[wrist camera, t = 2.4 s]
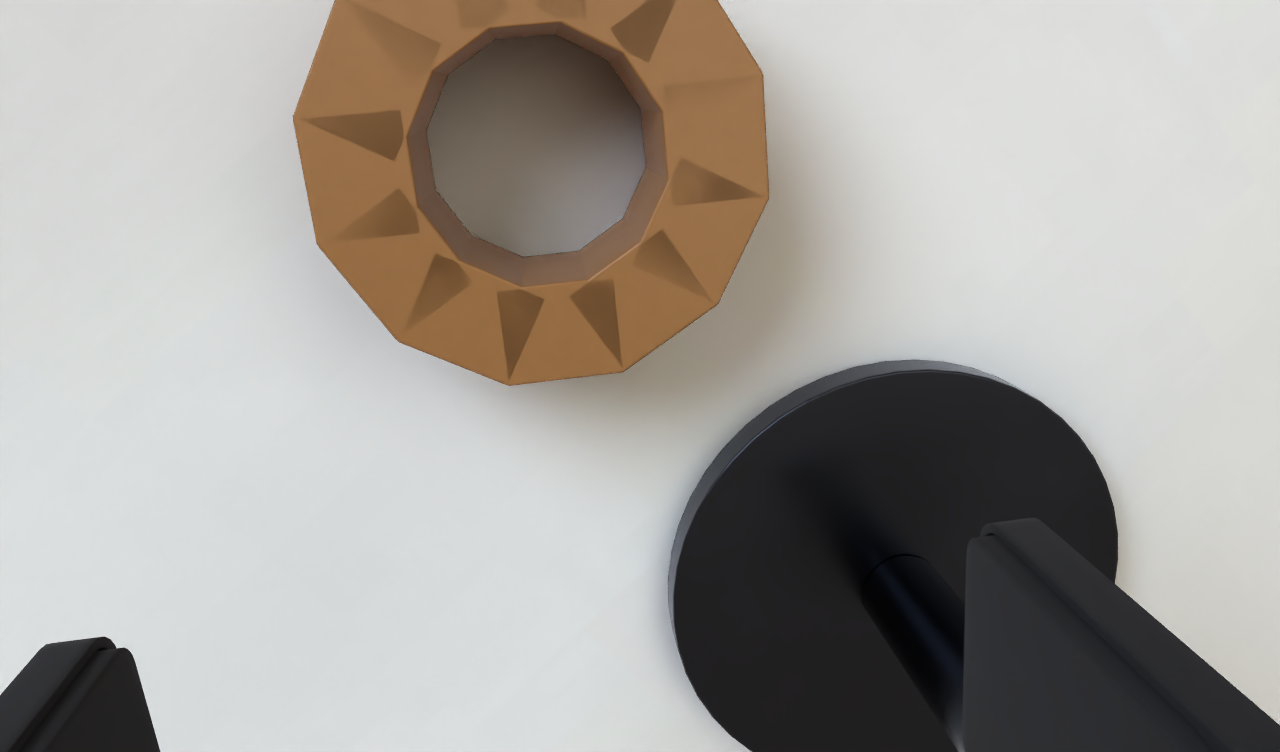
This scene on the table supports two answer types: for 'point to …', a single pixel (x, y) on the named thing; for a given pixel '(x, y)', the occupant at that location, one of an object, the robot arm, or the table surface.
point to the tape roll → (489, 275)
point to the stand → (865, 552)
